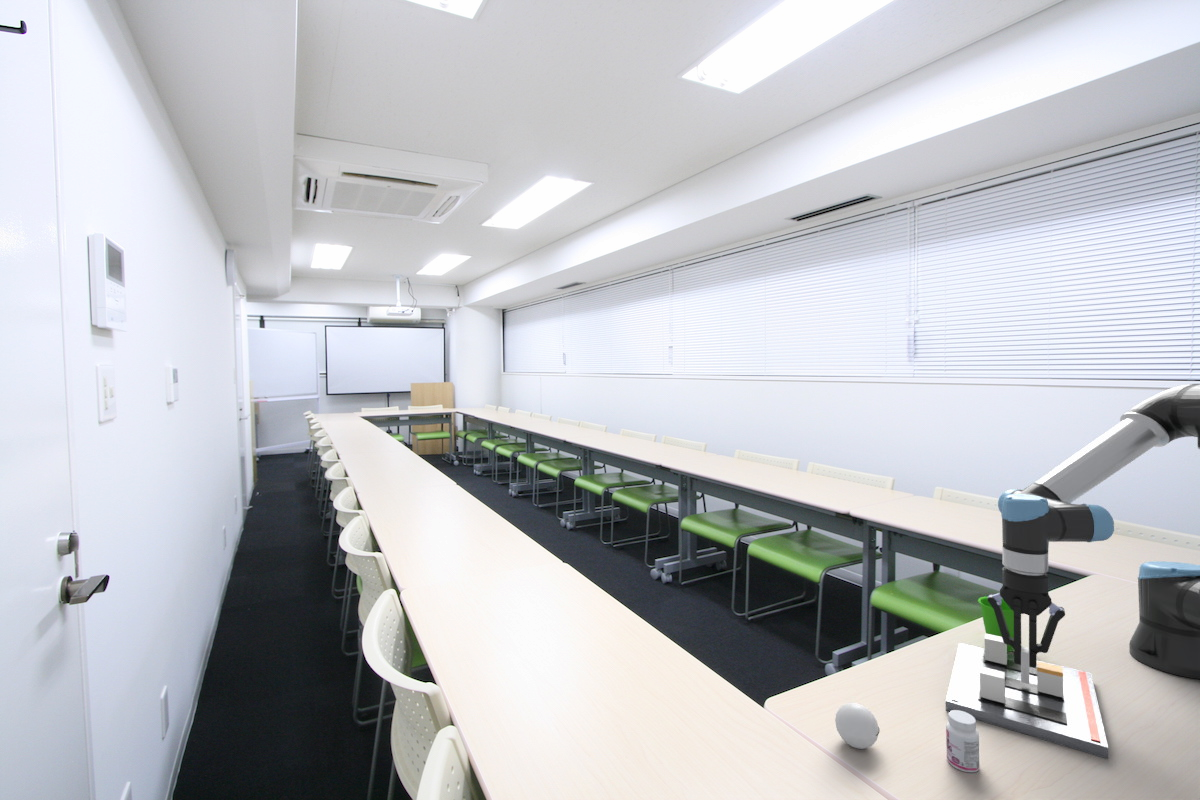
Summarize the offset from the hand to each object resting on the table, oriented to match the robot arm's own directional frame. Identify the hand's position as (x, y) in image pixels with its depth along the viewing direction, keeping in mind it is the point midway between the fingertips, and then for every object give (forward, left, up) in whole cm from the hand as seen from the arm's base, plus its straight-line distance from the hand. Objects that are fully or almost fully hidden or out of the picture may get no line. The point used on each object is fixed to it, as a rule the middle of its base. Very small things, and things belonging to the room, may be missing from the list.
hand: (1025, 680), depth 112 cm
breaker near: (+5, +9, -1) cm, 11 cm away
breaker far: (+5, -9, -1) cm, 10 cm away
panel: (+1, 0, -4) cm, 4 cm away
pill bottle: (+9, +31, -4) cm, 32 cm away
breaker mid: (-4, 0, -1) cm, 4 cm away
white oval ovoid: (+25, +35, -4) cm, 43 cm away
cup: (+5, -23, -4) cm, 24 cm away
